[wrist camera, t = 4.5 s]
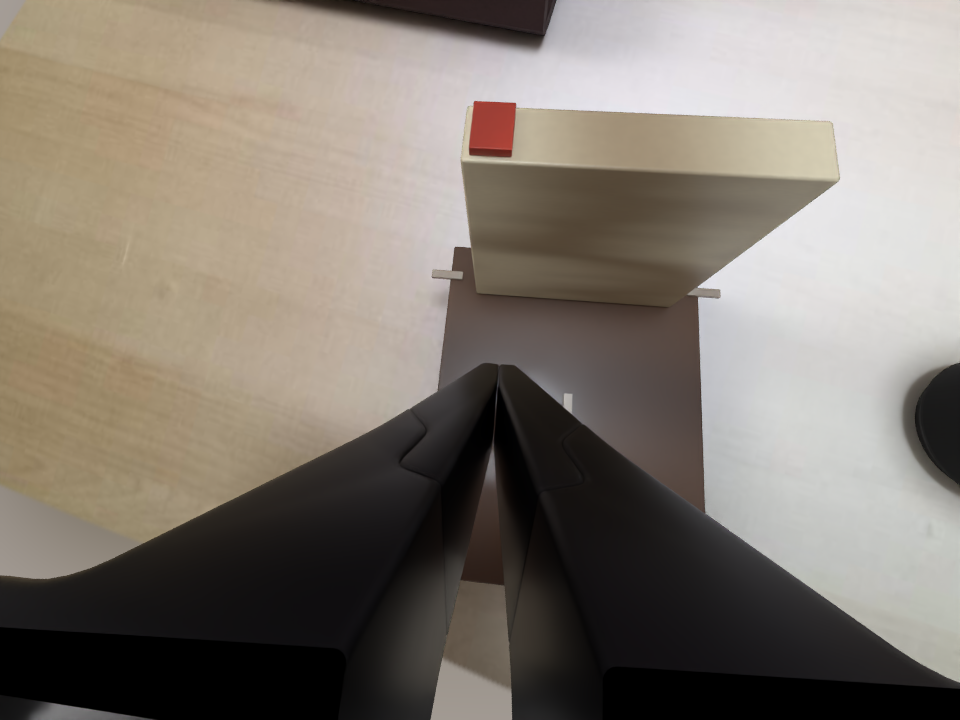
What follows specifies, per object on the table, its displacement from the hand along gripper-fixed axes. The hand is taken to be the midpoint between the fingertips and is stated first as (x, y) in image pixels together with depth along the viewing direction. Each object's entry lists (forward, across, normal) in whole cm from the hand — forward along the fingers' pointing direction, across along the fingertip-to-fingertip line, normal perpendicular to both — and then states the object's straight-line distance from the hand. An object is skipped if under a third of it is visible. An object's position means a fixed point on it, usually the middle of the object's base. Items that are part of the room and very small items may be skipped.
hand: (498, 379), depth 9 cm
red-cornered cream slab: (+8, +3, -1) cm, 9 cm away
